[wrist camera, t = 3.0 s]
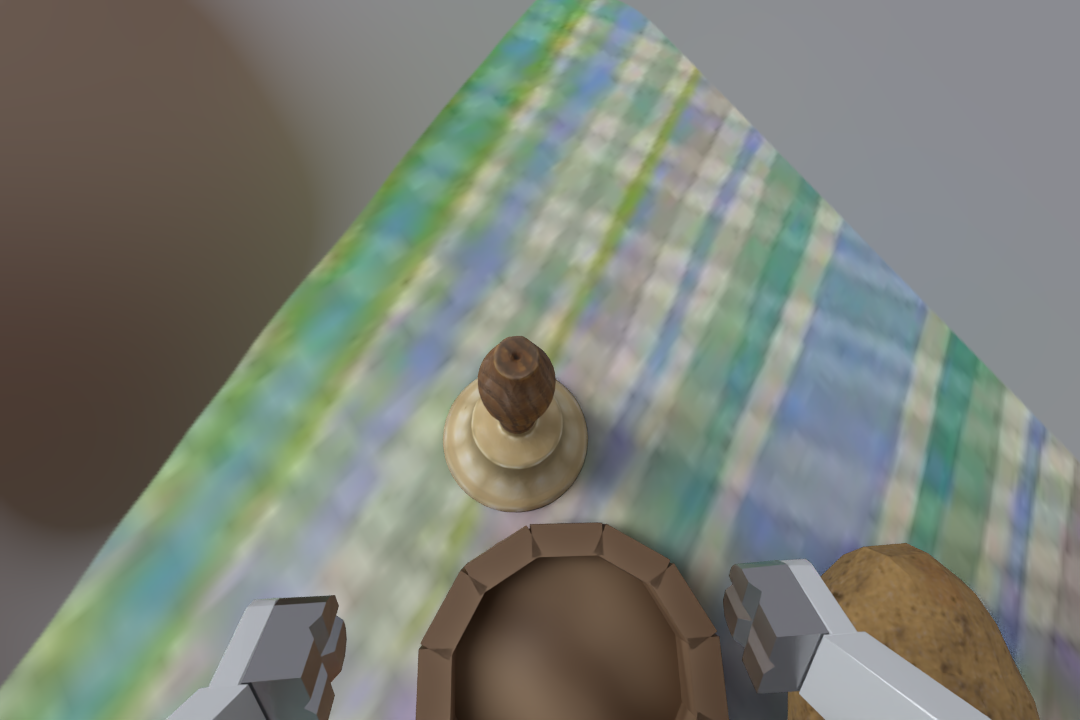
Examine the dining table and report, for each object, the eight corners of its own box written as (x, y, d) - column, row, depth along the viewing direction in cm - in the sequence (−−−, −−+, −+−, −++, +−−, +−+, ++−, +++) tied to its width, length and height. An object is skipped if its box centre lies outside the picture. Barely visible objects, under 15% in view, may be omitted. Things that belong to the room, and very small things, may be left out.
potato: (914, 544, 28) (1061, 554, 21) (959, 854, 24) (1166, 1009, 17) (744, 531, 28) (831, 536, 21) (760, 843, 24) (877, 995, 16)
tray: (631, 903, 23) (648, 958, 20) (371, 736, 24) (353, 765, 21) (741, 605, 27) (769, 615, 24) (514, 476, 28) (514, 472, 25)
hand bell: (582, 518, 28) (668, 519, 13) (433, 505, 28) (338, 488, 12) (591, 375, 30) (671, 233, 15) (454, 361, 30) (396, 203, 15)
